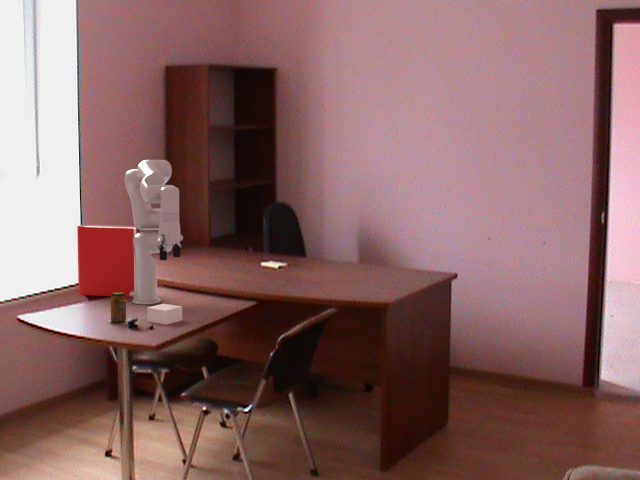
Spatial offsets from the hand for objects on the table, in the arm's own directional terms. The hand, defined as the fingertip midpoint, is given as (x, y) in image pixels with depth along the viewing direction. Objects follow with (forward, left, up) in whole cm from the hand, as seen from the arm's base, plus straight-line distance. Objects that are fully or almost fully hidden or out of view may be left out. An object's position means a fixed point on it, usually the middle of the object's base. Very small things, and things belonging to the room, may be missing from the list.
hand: (170, 258), depth 377 cm
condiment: (-13, -17, -25) cm, 33 cm away
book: (-55, +26, -25) cm, 66 cm away
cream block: (+1, -5, -25) cm, 26 cm away
